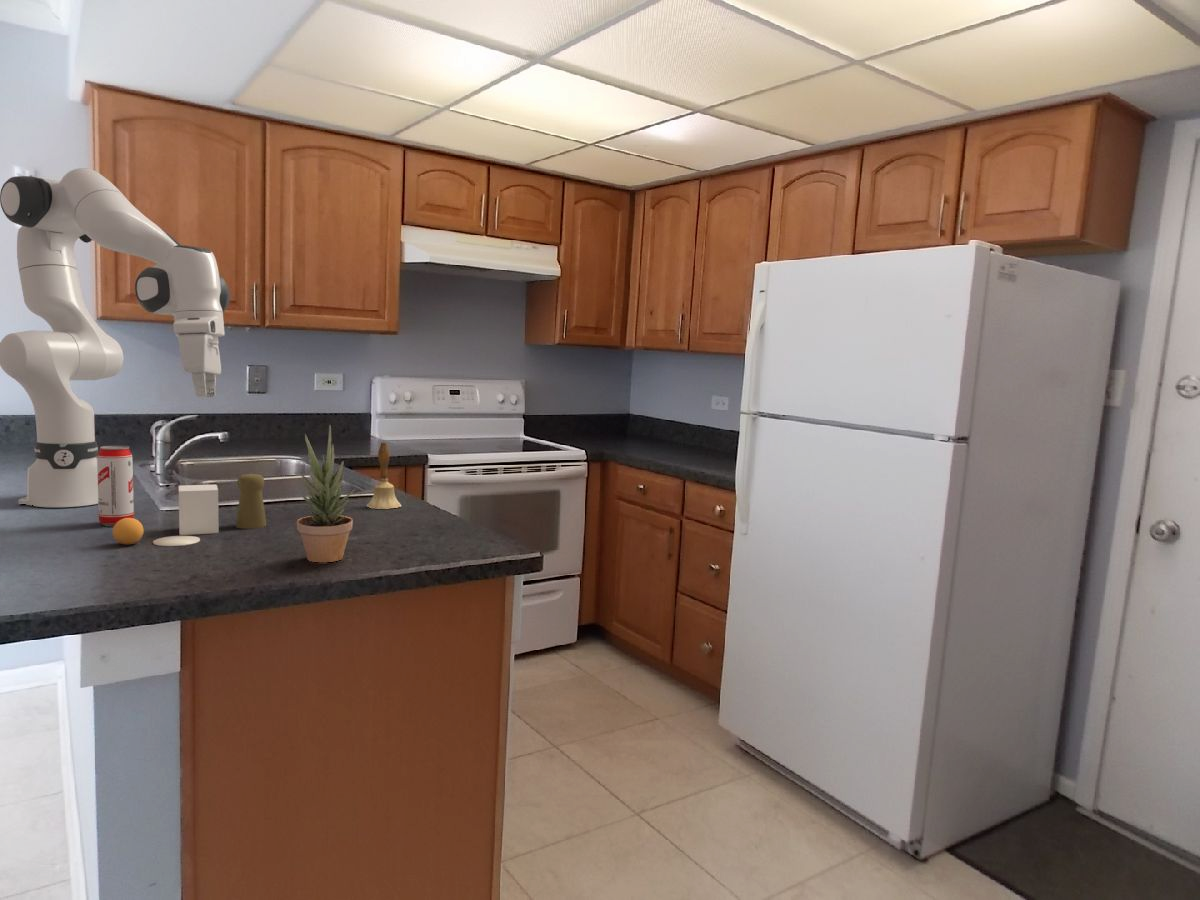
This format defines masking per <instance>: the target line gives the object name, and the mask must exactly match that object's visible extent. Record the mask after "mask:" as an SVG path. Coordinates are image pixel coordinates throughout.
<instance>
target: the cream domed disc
mask: <svg viewBox="0 0 1200 900" xmlns="http://www.w3.org/2000/svg"><path fill="white" fill-rule="evenodd" d="M199 542H201V538H200V537H198V536H193V535H172V536H164V537H159V538H157V539H154V540H153V541H152V543H153V545H154V546H159V547H183V546H190V545H194V544H197V543H199Z"/></svg>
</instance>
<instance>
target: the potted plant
mask: <svg viewBox="0 0 1200 900" xmlns="http://www.w3.org/2000/svg"><path fill="white" fill-rule="evenodd" d="M331 427H332V426H331V425H329V426H328V440H327V450H326V458H325V455H324V454H323V455H322V462H321V463H322V467H321V465H320V464H319V461H318V458H317V457H316V454H315V452H314V450H313V448H312V446H311V443H310V441H309V439H308V436H307V435H306V434H304V439H305V443H306V447H307V450H308V452H307V457H308V461H309V462H308V463H309V465H310V467H309V466H307V469H308V470H307V471H308V473H309V476H310V479H311V481H312V482H311V481H309V479H308V478H306V476H305V475H304V474H303V472H300V475H301V477H302V479H303V481H304V484H305V486H306V488H307V491H308V493H309V495H308V497H306V495H304V494H303V493H300V497H302V498H303V499H304V501H306V503H307V504H309V505H310V507H311V508H312V510H313V511H314V512H315V513H314V512H312V511H311V510H310V509H309V508H306V511H307V512H308V513H309V514H310V515H308V516H304V517H301V518H298V519H297V521H296V530H297V531H298V532H299V534H300V537H301V541H302V544H303V548H304V551H305V555H306V557H307V561H308V560H309V561H308V562H310V561H313V562H333V561H338V560H341V559H342V560H343V558H344V554H345V549H346V546H347V543H348V539H349V535H350V532H351V531H352V530H353V526H354V525H353V523H354V520H353V518H352V517H350V516H346V515H342V513H344V510H345V509H344V507H345V506H346V505H347V503H348V501H349V500H350V498H349V497H350V496H351V495H352V494H353V493H354V492H356V488H354V489H352V491H350V492H349V493H348V494H346V495H345V496H343V498H341V496H342V495H343V493H344V490H343V489H342V487H341V486H342V483H343V480H344V478H345V475H344V474H342V471H343V467H344V461H341V463H340V465H339V467H338V468H337V470H336V471H335V472H334V473H333V471H334V464H335V463H334V462H335V453H334V450H335V449H334V443H332V428H331ZM325 459H326V460H325ZM310 468H311V469H310ZM340 498H341V499H340ZM339 499H340V500H339ZM342 560H341V561H342ZM313 562H312V563H313ZM338 562H339V561H338Z"/></svg>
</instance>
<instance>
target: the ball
mask: <svg viewBox="0 0 1200 900" xmlns="http://www.w3.org/2000/svg"><path fill="white" fill-rule="evenodd" d="M112 527H113V528H112V536H113V539H114V540H115V541H116V542H118V544H122V545H126V546H127V545H134V544H137V542H139V541H140V540H141V539H142V537H143V535H144V532H145V531H144V526H143V524H142V522H140V521H139V520H138V519H136V518H135V517H134V518H124V519H121V520H119V521H118V522H117V523H116V524H115V525H114V526H112Z"/></svg>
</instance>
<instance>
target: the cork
mask: <svg viewBox="0 0 1200 900" xmlns="http://www.w3.org/2000/svg"><path fill="white" fill-rule="evenodd" d="M237 487H238V489H239V490H240V492H239V493H240V494H239V499H238V507H237V515H236V523H235V527H236V528H237V529H244V530H245V529H247V530H249V529H250V530H252V529H253V530H254V529H261V527H262V528H265V527H266V525H267V519H266V512H265V505H264V498H263V492H262V490H263V488H264V487H265V478H264V477H263V476H262V475H261V474H259V473H258V474H257V473H247V474H246V473H245V474H242V475H239V477H238V479H237ZM264 526H265V527H264Z"/></svg>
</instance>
